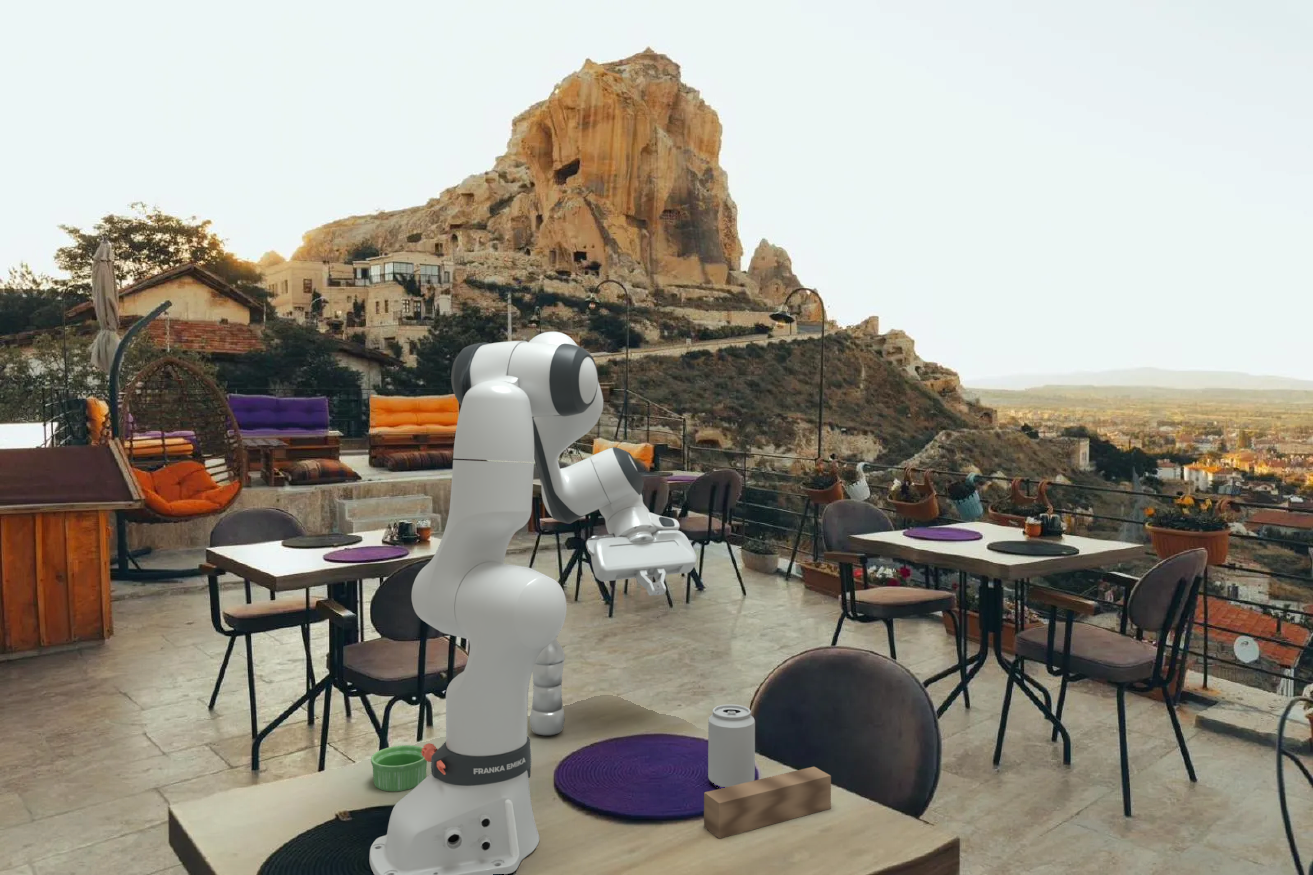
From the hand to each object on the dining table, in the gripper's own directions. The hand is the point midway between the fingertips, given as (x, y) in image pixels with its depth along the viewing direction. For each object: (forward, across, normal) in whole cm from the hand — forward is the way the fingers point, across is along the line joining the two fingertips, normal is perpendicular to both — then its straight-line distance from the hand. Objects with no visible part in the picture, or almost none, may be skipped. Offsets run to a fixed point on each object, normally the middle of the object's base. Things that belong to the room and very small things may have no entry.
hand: (658, 593), depth 156 cm
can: (+34, +2, +5) cm, 34 cm away
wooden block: (+43, 0, -4) cm, 43 cm away
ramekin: (+15, -45, +24) cm, 53 cm away
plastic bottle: (+9, -16, +30) cm, 35 cm away
